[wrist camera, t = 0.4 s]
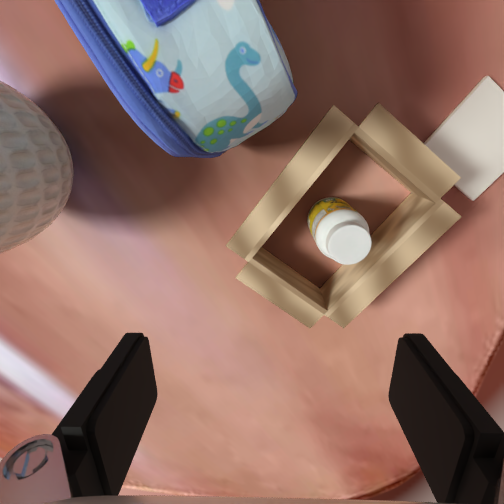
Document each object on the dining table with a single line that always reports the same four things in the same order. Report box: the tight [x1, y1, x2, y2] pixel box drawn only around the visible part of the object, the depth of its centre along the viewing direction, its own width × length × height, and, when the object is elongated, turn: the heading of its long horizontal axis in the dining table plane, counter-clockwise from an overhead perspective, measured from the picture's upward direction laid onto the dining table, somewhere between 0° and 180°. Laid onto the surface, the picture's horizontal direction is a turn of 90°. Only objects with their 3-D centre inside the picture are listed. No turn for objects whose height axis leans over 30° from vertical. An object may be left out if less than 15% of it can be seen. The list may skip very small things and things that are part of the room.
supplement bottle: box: [307, 197, 372, 265], centre depth 33 cm, size 5×5×10 cm
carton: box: [226, 103, 461, 328], centre depth 34 cm, size 22×17×6 cm
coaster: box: [423, 76, 504, 201], centre depth 33 cm, size 9×9×1 cm
